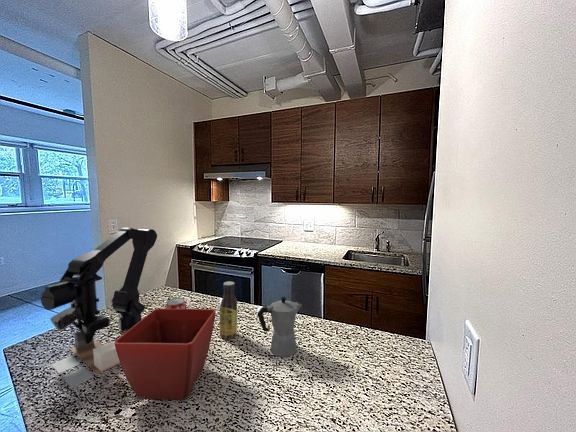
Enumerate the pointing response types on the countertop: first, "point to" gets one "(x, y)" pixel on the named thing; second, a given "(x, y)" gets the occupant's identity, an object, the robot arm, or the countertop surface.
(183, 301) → the soda can
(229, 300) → the sauce bottle
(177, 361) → the plant pot
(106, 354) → the cube
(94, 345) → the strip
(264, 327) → the coffeepot
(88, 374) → the broken strip
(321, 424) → the countertop surface
